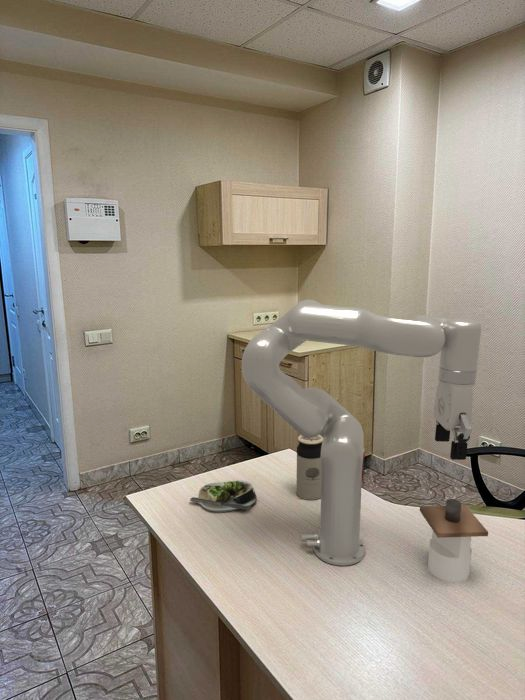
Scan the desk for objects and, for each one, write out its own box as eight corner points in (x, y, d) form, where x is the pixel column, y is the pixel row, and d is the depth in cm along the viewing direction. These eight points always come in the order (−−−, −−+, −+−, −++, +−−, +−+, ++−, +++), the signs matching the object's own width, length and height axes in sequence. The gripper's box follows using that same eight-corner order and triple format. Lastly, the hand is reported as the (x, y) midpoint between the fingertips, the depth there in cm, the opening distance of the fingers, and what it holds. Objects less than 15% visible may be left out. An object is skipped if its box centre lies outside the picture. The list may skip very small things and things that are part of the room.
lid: (437, 537, 106) (439, 516, 105) (419, 510, 117) (420, 491, 116) (487, 536, 107) (490, 515, 105) (465, 509, 117) (466, 490, 116)
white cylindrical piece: (419, 563, 117) (422, 517, 114) (449, 553, 120) (452, 508, 117) (447, 587, 108) (451, 538, 106) (478, 576, 112) (483, 528, 109)
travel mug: (297, 486, 153) (297, 432, 149) (323, 488, 152) (324, 433, 148) (295, 499, 145) (296, 442, 142) (322, 501, 144) (323, 444, 141)
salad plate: (190, 520, 136) (190, 504, 135) (189, 488, 153) (189, 475, 152) (260, 513, 139) (260, 498, 138) (251, 483, 156) (251, 470, 155)
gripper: (427, 365, 115) (420, 434, 119) (454, 387, 98) (446, 466, 102) (459, 366, 115) (452, 435, 119) (492, 387, 98) (482, 467, 102)
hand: (449, 449), depth 110 cm, fingers open, 9 cm apart
